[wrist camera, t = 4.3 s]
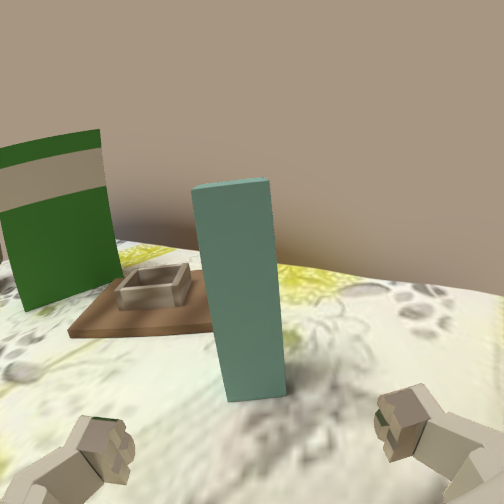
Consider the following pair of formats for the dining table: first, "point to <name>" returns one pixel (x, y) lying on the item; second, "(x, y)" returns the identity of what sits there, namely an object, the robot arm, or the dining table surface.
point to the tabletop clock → (0, 256)
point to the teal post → (242, 285)
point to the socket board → (148, 305)
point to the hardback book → (57, 217)
